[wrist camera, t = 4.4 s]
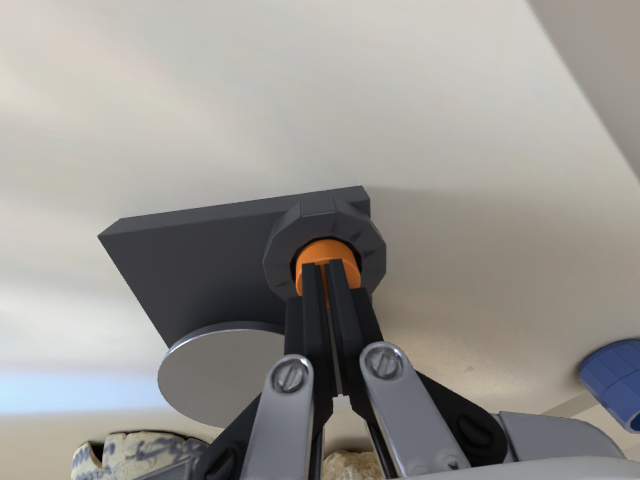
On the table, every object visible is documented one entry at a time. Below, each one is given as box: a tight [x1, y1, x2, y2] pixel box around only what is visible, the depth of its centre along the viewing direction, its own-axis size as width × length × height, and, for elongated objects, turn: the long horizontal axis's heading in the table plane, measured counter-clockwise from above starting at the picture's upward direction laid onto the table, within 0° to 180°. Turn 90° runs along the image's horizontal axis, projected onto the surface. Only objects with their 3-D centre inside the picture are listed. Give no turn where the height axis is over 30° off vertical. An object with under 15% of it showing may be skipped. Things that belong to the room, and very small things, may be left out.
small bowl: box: [579, 340, 640, 434], centre depth 22 cm, size 7×7×4 cm
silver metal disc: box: [157, 321, 285, 429], centre depth 16 cm, size 10×10×1 cm
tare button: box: [296, 239, 361, 308], centre depth 12 cm, size 3×3×2 cm
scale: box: [97, 186, 386, 394], centre depth 16 cm, size 16×13×4 cm
